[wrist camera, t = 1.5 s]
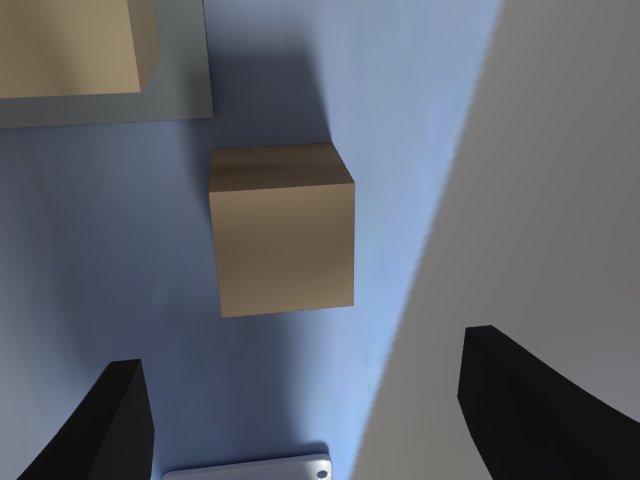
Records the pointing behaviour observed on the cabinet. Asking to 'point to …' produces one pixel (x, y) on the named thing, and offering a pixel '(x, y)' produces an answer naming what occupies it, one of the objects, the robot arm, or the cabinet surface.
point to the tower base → (157, 93)
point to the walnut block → (282, 228)
